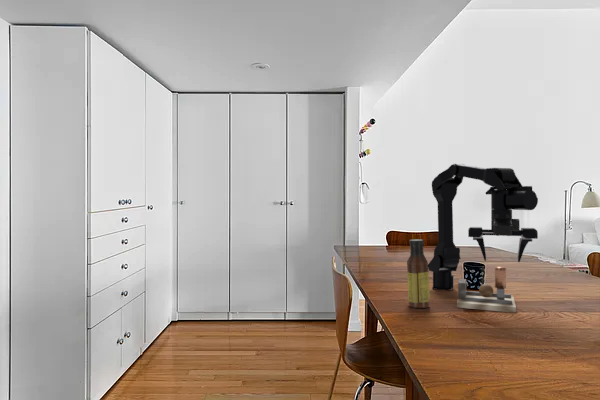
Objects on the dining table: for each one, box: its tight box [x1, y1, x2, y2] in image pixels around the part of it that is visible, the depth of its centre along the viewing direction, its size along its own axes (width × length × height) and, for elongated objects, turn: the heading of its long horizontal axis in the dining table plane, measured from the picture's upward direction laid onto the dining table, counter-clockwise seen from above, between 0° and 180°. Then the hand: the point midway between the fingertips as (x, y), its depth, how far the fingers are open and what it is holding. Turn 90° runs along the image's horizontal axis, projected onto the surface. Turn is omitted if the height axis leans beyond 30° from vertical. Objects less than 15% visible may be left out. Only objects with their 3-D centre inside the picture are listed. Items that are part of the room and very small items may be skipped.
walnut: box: [478, 283, 494, 297], centre depth 135 cm, size 4×4×4 cm
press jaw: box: [494, 266, 507, 300], centre depth 134 cm, size 3×6×10 cm, turn 157°
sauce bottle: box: [406, 238, 431, 309], centre depth 132 cm, size 6×6×20 cm
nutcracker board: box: [456, 278, 517, 314], centre depth 135 cm, size 16×16×6 cm
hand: (501, 261), depth 134 cm, fingers open, 9 cm apart
